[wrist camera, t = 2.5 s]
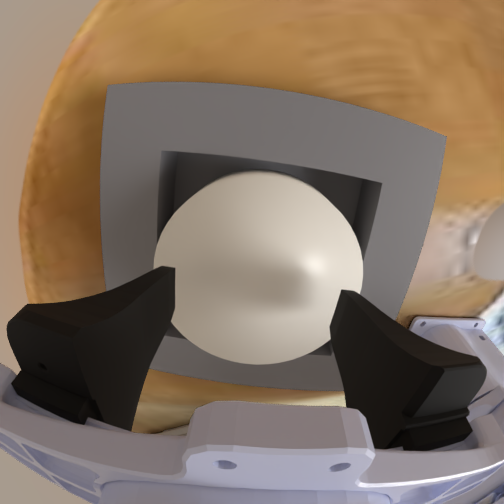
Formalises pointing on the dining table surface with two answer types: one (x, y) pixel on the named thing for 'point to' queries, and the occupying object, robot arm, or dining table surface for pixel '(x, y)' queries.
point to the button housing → (263, 157)
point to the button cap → (258, 266)
